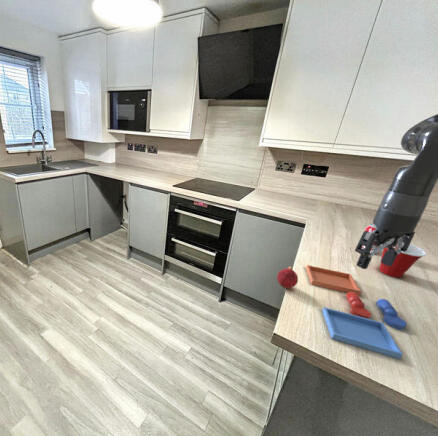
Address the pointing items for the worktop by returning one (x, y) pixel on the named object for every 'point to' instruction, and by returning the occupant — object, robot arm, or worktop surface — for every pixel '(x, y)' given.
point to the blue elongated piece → (390, 315)
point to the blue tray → (361, 332)
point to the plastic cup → (402, 261)
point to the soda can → (370, 229)
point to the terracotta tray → (332, 279)
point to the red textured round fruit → (287, 278)
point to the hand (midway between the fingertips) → (373, 265)
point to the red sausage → (357, 305)
